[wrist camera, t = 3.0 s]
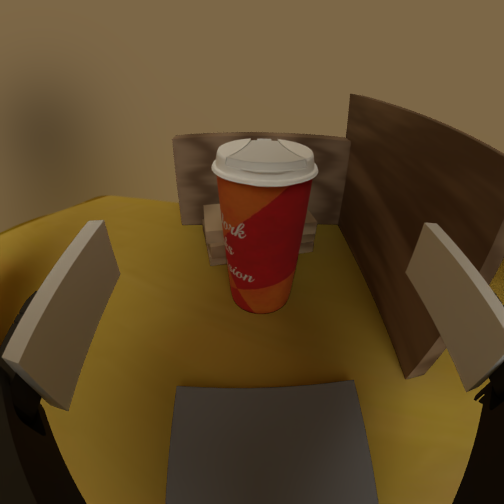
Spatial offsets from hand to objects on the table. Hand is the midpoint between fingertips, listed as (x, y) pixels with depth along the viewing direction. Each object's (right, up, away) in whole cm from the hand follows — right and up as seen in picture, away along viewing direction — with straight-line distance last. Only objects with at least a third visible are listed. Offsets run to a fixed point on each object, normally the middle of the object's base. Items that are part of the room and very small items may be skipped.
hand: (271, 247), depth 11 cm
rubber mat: (0, -14, +3) cm, 15 cm away
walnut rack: (+2, -3, +18) cm, 18 cm away
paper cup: (0, -4, +16) cm, 17 cm away
